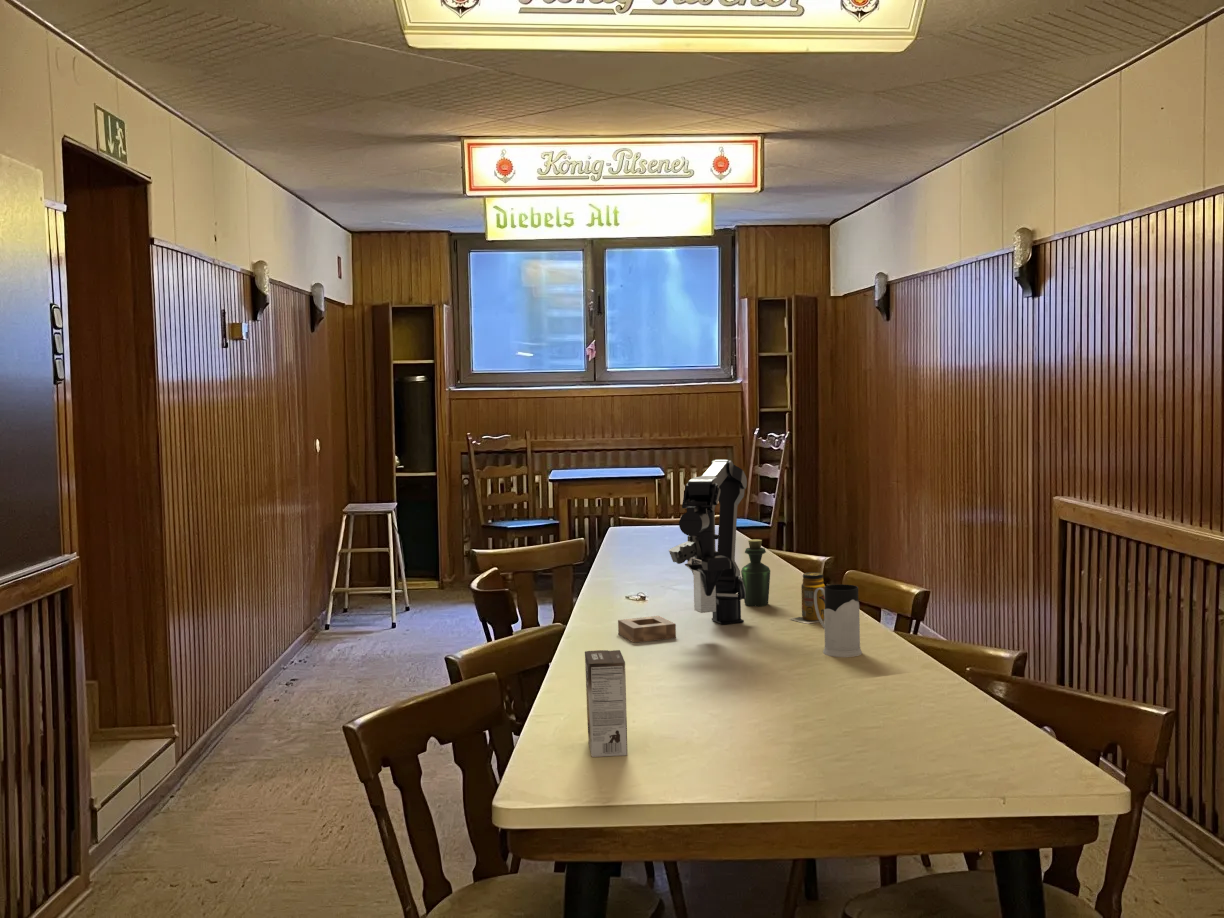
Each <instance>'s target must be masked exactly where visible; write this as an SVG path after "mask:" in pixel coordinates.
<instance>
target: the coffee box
mask: <svg viewBox="0 0 1224 918" xmlns="http://www.w3.org/2000/svg"><path fill="white" fill-rule="evenodd" d="M584 663H585V666H584V667H585V687H586V688H585V690H586V692H585V693H586V696H585V697H586V717H587V719H586V720H587V739H588V744H589V750H590V755H591V757H592V758H600V757H619V756H621V757H622V756H627V755H628V717H627V712H628V711H627V683H626V677H627V676H626V661H625V659H624V656H623V654H622V652H621V650H620V649H616V650H615V649H613V650H608V649H607V650H605V649H603V650H600V649H599V650H597V649H596V650H585V651H584Z"/></svg>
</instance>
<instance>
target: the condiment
mask: <svg viewBox="0 0 1224 918" xmlns="http://www.w3.org/2000/svg"><path fill="white" fill-rule="evenodd" d="M824 582H825V581H824V574H823V573H821V572H804V573H803V575H802V583H801V616H798V617H791V618H789V620H791V621H795V622H798V623H804V624H814V623H820V621H819V619H818V617H817V614H816V611H815V606H814V592H815V590H816V589H817V588H823V589H824V590H825V586H826V585H825V583H824ZM817 606H818V610H819V614H820V617H821V619H822V621H823V622H824V609H825V597H824V594H823V592H822V591H821V590H820V589H819V590H818V592H817Z"/></svg>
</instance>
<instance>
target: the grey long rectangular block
mask: <svg viewBox="0 0 1224 918" xmlns="http://www.w3.org/2000/svg"><path fill="white" fill-rule="evenodd" d="M692 575H693V604H694V605H693V608H694V611H695V612H698V613H700V614H704V613H713V612H716V585H715V587H714V590H713V592H712V594H711V596H706V592H705V585H704V578H703V574H702V573H701V572H700V571H699V570H698V569H695V570H693V573H692Z"/></svg>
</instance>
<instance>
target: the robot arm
mask: <svg viewBox="0 0 1224 918" xmlns="http://www.w3.org/2000/svg"><path fill="white" fill-rule="evenodd" d="M710 464H711V465H710V466H709V467H708V468H707V469H706V471H705V472H704V473H703V474H702V475H701V476H696V477H692V478H691V479H689V480H688V482H687V483H686V484H685V488H684V494H683V499H682V504H681V509H686V512H685V513H683V514H682V515H681V517H680V518H679V521H678V528H679V529H680V531H681V532H682V533H683V534H684V535H686V536H687V541H685V542H681V543H680V544H677V545H676V546H674V547H672V548H670V549H668V552H669V555H670V557H671V560H672V562H673V563H676V564H677V565H681V564H684V565H685V567H687V568H688V569H689V570H690V571H691V572H692V574H693V570H695V569H698V570H699V571H700V572H701V573H702V574H703V578H704V585H705V592H706V596H711V594H712V592H713V590H714V587H715V585H716V612H712V618H711V621H713V622H716V623H718V624H720V625H727V624H737V623H744V622H745V620H744V619H742V609H741V608H742V606H741V605H742V604H741V600H744V599H745V598H746V596H745V587H744V584H743V581H742V575H741V569H740V568H739V566H738V564H737V562H736V561H735V560H736V559H735V558H736V541H737V523H738V522H737V519H738V506H739V505H740V503H741V501H742V499H744V497H745V490H746V489H747V485H748V481H747V480H748V479H747V476H746V473H745V471H744V470H743V469H742V468H740V467H739V466H738V465H735V464H734V463H733V461H732V460H729V459H713V460H712V461H711V463H710ZM718 503H719V512H718V513H719V515H718V532H717V533H718V534H716V520H715V519H716V517H715V515H716V514H715V513H716V512H715V509H716V506H717V505H718ZM716 540H717V550H716ZM685 562H687V563H685Z"/></svg>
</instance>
